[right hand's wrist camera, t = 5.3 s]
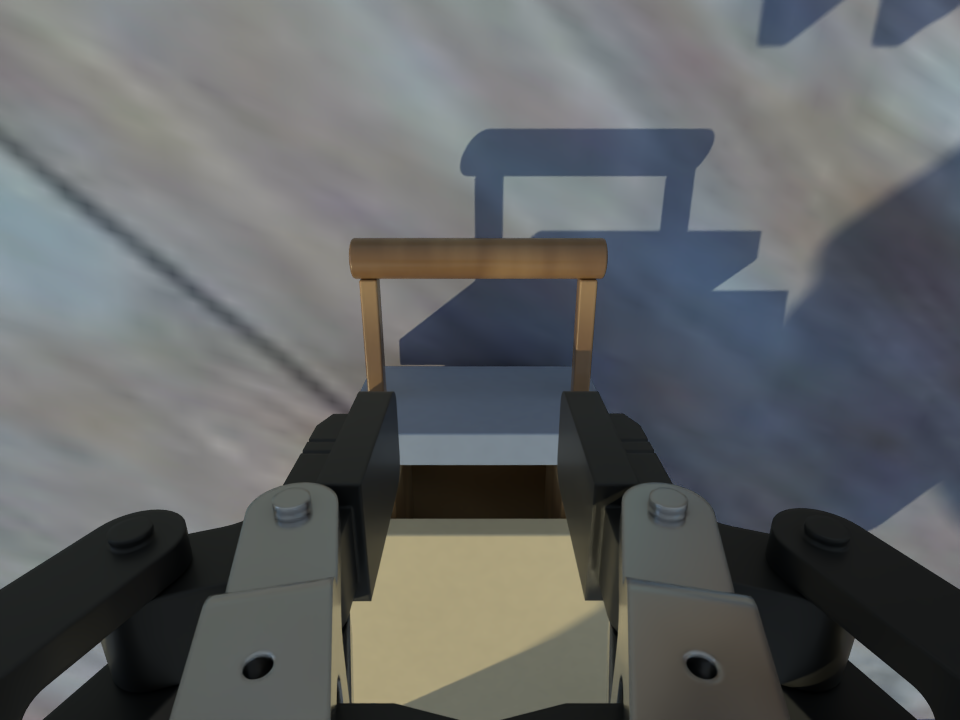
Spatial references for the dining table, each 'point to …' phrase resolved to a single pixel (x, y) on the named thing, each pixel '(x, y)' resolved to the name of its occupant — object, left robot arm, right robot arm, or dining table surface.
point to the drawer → (478, 382)
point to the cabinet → (479, 621)
